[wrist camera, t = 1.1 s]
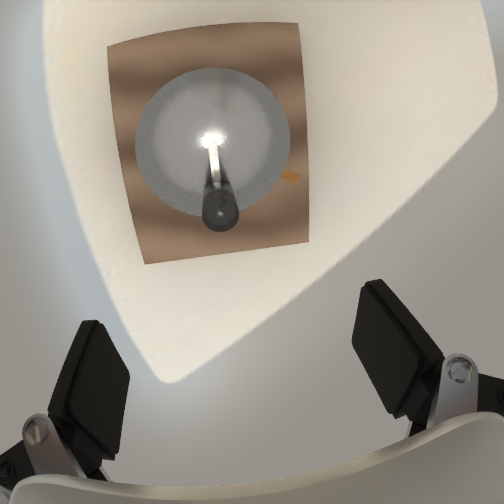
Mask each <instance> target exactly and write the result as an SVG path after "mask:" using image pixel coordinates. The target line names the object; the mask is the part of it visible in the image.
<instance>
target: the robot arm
mask: <svg viewBox="0 0 504 504" xmlns="http://www.w3.org/2000/svg"><path fill="white" fill-rule="evenodd" d="M352 345H353V348H354V350H355V351H356V353H357V355H358V357H359V359H360V361H361V362H362V364H363V366H364V368H365V370H366V372H367V374H368V376H369V377H370V379H371V381H372V383H373V385H374V387H375V389H376V391H377V393H378V395H379V397H380V398H381V401H382V402H383V404H384V406H385V408H386V410H387V412H388V413H389V414H393V416H394V418H395V419H397V418H400V417H401V416H404V415H407V417H408V419H409V424H408V428H407V431H406V435H405V438H404V440H402V441H399V442H397V443H395V444H392V445H390V446H387V447H385V448H382V449H379V450H377V451H374V452H372V453H369V454H366V455H363V456H361V457H358V458H355V459H352V460H349V461H346V462H342V463H339V464H336V465H332V466H329V467H326V468H321V469H318V470H314V471H310V472H305V473H301V474H297V475H292V476H287V477H282V478H277V479H271V480H264V481H258V482H250V483H242V484H233V485H220V486H201V487H164V486H146V485H134V484H123V483H115V482H113V481H112V480H111V479H110V477H109V476H108V474H107V473H106V472H105V470H104V469H103V467H102V465H101V463H102V459H105V460H115V454H117V453H118V452H119V446H120V438H121V431H122V423H123V416H124V410H125V403H126V398H127V392H128V386H129V381H130V375H129V371H128V369H127V367H126V366H125V364H124V362H123V360H122V359H121V357H120V355H119V353H118V351H117V350H116V348H115V346H114V344H113V342H112V340H111V338H110V336H109V334H108V332H107V330H106V328H105V326H104V325H103V324H102V323H100V322H99V321H98V320H86V321H82V323H81V325H80V327H79V329H78V331H77V333H76V336H75V338H74V340H73V343H72V345H71V347H70V350H69V352H68V355H67V357H66V360H65V362H64V365H63V367H62V370H61V372H60V375H59V378H58V380H57V383H56V386H55V389H54V392H53V394H52V398H51V400H50V403H49V406H48V411H49V413H48V416H47V415H45V414H35V415H32V416H31V417H30V418H28V419H27V421H26V422H25V424H24V426H23V430H22V436H23V440H22V441H20V442H19V443H17V444H16V445H15V446H13V447H12V448H10V449H9V450H7V451H6V452H4V453H3V454H1V455H0V504H504V380H503V379H499V378H495V377H491V376H487V375H484V374H480V373H478V369H477V366H476V364H475V362H474V361H473V360H472V359H471V358H469V357H468V356H466V355H463V354H451V355H450V356H448V357H446V358H445V357H444V356H443V353H442V352H441V350H440V349H439V348H438V346H437V345H436V344H435V342H434V341H433V340H432V339H431V337H430V336H429V335H428V333H427V332H426V331H425V330H424V328H423V327H422V326H421V325H420V324H419V322H418V321H417V320H416V319H415V317H414V316H413V315H412V314H411V313H410V312H409V310H408V309H407V308H406V307H405V305H404V304H403V303H402V302H401V301H400V300H399V298H398V297H397V296H396V295H395V294H394V293H393V291H392V290H391V289H390V288H389V287H388V286H387V285H386V283H385V282H384V281H383V280H382V279H378V280H372V281H368V282H366V283H365V286H363V287H362V288H361V292H360V298H359V304H358V309H357V315H356V321H355V326H354V330H353V335H352Z"/></svg>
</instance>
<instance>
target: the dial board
mask: <svg viewBox="0 0 504 504" xmlns="http://www.w3.org/2000/svg"><path fill="white" fill-rule="evenodd" d="M107 53H108V70H109V82H110V93H111V102H112V110H113V118H114V126H115V132H116V139H117V145H118V151H119V157H120V162H121V168H122V173H123V178H124V183H125V188H126V192H127V197H128V202H129V206H130V210H131V214H132V219H133V223H134V227H135V231H136V234H137V238H138V242H139V246H140V249H141V253H142V256H143V260H144V263H145V264H152V263H159V262H167V261H174V260H181V259H188V258H196V257H203V256H210V255H217V254H225V253H232V252H239V251H247V250H254V249H261V248H269V247H276V246H284V245H291V244H298V243H306V242H309V176H308V144H307V122H306V105H305V90H304V77H303V65H302V54H301V44H300V35H299V26H298V23H280V22H252V23H230V24H218V25H208V26H199V27H192V28H185V29H179V30H173V31H167V32H162V33H157V34H153V35H148V36H144V37H140V38H136V39H132V40H128V41H125V42H121V43H118V44H114V45H111V46H108V47H107ZM203 68H227V69H231V70H236V71H239V72H242V73H245V74H247V75H249V76H251V77H253V78H255V79H256V80H258V81H259V82H261V83H262V84H263V85H265V86H266V87H267V88H268V89H269V90H270V91H271V92H272V93H273V94H274V96H275V97H276V98H277V99H278V101H279V103H280V104H281V106H282V108H283V110H284V112H285V115H286V117H287V121H288V125H289V130H290V151H289V156H288V160H287V164H286V166H285V169H284V171H283V173H282V175H281V177H280V178H279V180H278V182H277V183H276V184H275V186H274V187H273V188H272V190H271V191H270V192H269V193H268V194H267V195H266V196H265V197H263V198H262V199H261V200H260V201H258V202H257V203H256V204H254V205H252V206H251V207H249V208H247V209H245V210H242V211H240V212H239V219H238V222H237V224H236V225H235V226H234V227H233V228H232V229H230V230H228V231H225V232H215V231H212V230H210V229H209V228H208V227H207V226H206V225H205V224H204V222H203V220H202V217H201V216H195V215H190V214H187V213H184V212H181V211H179V210H177V209H174V208H173V207H171V206H169V205H168V204H166V203H165V202H164V201H162V200H161V199H160V198H159V197H158V196H157V195H156V194H155V193H154V192H153V191H152V190H151V189H150V187H149V186H148V185H147V183H146V182H145V180H144V178H143V176H142V174H141V172H140V169H139V166H138V163H137V159H136V151H135V136H136V131H137V126H138V123H139V120H140V117H141V115H142V113H143V111H144V108H145V107H146V105H147V104H148V102H149V101H150V99H151V98H152V97H153V96H154V95H155V94H156V92H157V91H158V90H159V89H161V88H162V87H163V86H164V85H165V84H167V83H168V82H170V81H171V80H173V79H174V78H176V77H178V76H180V75H182V74H184V73H187V72H190V71H193V70H198V69H203Z"/></svg>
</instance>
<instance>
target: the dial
mask: <svg viewBox="0 0 504 504" xmlns="http://www.w3.org/2000/svg"><path fill="white" fill-rule="evenodd" d="M135 151H136V159H137V163H138V166H139V169H140V172H141V174H142V176H143V178H144V180H145V182H146V183H147V185H148V186H149V187H150V189H151V190H152V191H153V192H154V193H155V194H156V195H157V196H158V197H159V198H160V199H161V200H162V201H164V202H165V203H166V204H168V205H169V206H171V207H173V208H174V209H177V210H179V211H181V212H184V213H187V214H190V215H195V216H201V217H202V220H203V222H204V224H205V225H206V226H207V227H208V228H209V229H210V230H212V231H215V232H225V231H228V230H230V229H232V228H233V227H234V226H235V225H236V224H237V222H238V219H239V212H240V211H242V210H245V209H247V208H249V207H251V206H252V205H254V204H256V203H257V202H258V201H260V200H261V199H262V198H263V197H265V196H266V195H267V194H268V193H269V192H270V191H271V190H272V188H273V187H274V186H275V184H276V183H277V182H278V180H279V178H280V177H281V175H282V173H283V171H284V169H285V166H286V164H287V160H288V156H289V151H290V130H289V125H288V121H287V117H286V115H285V112H284V110H283V108H282V106H281V104H280V103H279V101H278V99H277V98H276V97H275V96H274V94H273V93H272V92H271V91H270V90H269V89H268V88H267V87H266V86H265V85H263V84H262V83H261V82H259V81H258V80H256V79H255V78H253V77H251V76H249V75H247V74H245V73H242V72H239V71H236V70H231V69H227V68H203V69H198V70H193V71H190V72H187V73H184V74H182V75H180V76H178V77H176V78H174V79H173V80H171V81H170V82H168V83H167V84H165V85H164V86H163V87H162V88H161V89H159V90H158V91H157V92H156V94H155V95H154V96H153V97H152V98H151V99H150V101H149V102H148V104H147V105H146V107H145V108H144V111H143V113H142V115H141V117H140V120H139V123H138V126H137V131H136V136H135Z"/></svg>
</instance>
